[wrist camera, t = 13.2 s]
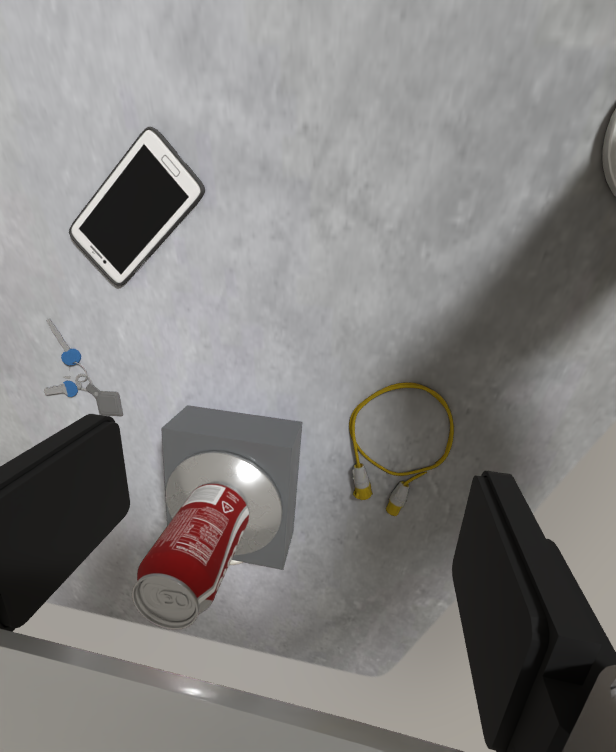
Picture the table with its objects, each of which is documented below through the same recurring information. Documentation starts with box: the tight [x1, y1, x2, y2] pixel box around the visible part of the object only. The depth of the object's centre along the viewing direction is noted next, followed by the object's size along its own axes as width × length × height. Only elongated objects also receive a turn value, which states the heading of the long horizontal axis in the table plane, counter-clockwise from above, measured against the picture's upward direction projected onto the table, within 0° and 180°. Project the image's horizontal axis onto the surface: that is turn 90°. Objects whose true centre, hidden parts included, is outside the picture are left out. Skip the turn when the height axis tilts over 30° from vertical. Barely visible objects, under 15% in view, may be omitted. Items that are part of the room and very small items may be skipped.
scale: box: [162, 406, 302, 570], centre depth 44 cm, size 14×17×6 cm
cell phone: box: [69, 127, 205, 285], centre depth 39 cm, size 8×15×1 cm, turn 131°
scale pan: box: [166, 450, 283, 555], centre depth 41 cm, size 13×13×1 cm
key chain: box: [44, 319, 123, 416], centre depth 47 cm, size 14×8×1 cm, turn 38°
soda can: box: [132, 483, 249, 630], centre depth 35 cm, size 7×7×12 cm
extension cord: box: [349, 383, 454, 516], centre depth 42 cm, size 12×16×2 cm
